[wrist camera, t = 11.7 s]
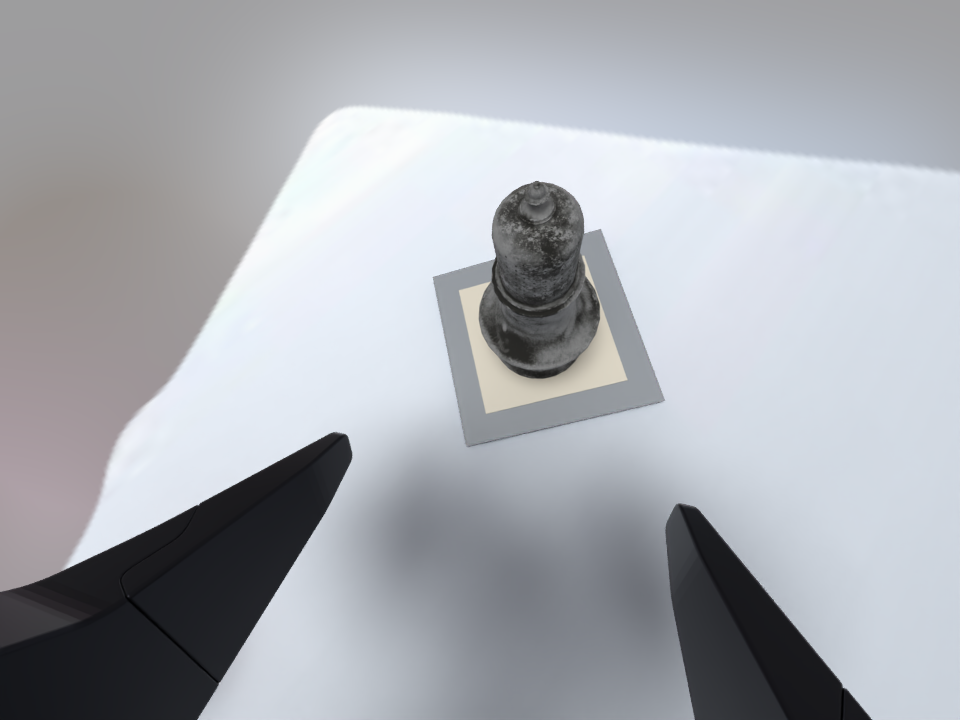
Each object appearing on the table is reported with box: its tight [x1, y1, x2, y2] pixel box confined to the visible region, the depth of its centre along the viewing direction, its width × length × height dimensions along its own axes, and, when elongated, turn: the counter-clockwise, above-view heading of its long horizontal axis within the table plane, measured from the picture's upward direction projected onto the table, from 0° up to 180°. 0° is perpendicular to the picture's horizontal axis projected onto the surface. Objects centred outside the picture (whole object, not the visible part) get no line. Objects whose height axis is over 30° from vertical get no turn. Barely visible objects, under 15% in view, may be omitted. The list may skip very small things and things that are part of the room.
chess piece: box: [479, 181, 600, 379], centre depth 14 cm, size 6×6×12 cm
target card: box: [433, 229, 665, 446], centre depth 20 cm, size 11×11×1 cm
